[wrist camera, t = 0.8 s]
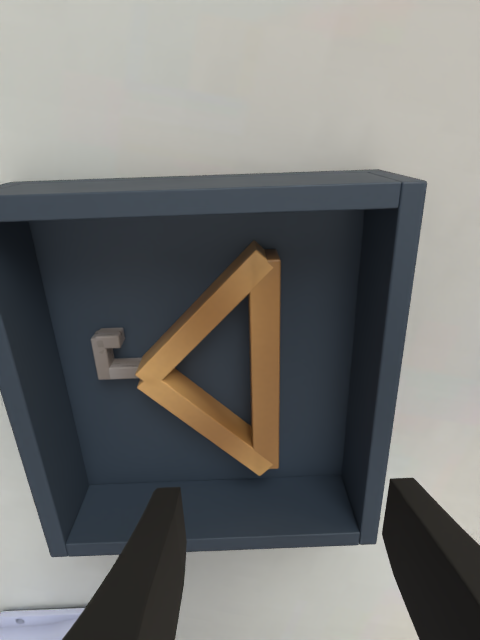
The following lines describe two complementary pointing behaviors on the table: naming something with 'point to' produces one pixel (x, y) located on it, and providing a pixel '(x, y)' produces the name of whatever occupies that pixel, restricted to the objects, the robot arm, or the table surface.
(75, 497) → the basket
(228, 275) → the hanger
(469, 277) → the table surface
